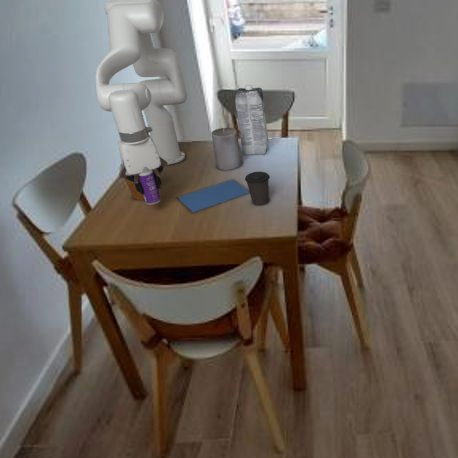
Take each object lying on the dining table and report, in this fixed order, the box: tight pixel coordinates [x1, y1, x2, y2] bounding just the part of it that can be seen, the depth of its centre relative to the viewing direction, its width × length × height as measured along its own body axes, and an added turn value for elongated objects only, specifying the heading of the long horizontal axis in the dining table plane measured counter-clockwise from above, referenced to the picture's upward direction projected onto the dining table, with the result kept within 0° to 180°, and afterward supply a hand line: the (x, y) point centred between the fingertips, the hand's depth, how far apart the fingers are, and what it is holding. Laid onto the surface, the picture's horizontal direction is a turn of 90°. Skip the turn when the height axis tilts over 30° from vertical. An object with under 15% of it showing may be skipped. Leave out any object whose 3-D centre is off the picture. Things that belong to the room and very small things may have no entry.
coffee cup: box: [244, 171, 271, 206], centre depth 142 cm, size 8×8×10 cm
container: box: [138, 167, 162, 206], centre depth 133 cm, size 5×5×15 cm
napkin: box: [177, 179, 250, 213], centre depth 149 cm, size 13×21×1 cm, turn 129°
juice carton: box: [234, 84, 269, 156], centre depth 174 cm, size 9×10×27 cm
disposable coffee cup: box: [118, 162, 145, 201], centre depth 147 cm, size 10×10×12 cm
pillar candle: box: [211, 127, 243, 171], centre depth 166 cm, size 10×10×15 cm
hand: (149, 189), depth 135 cm, fingers closed on container, 4 cm apart
